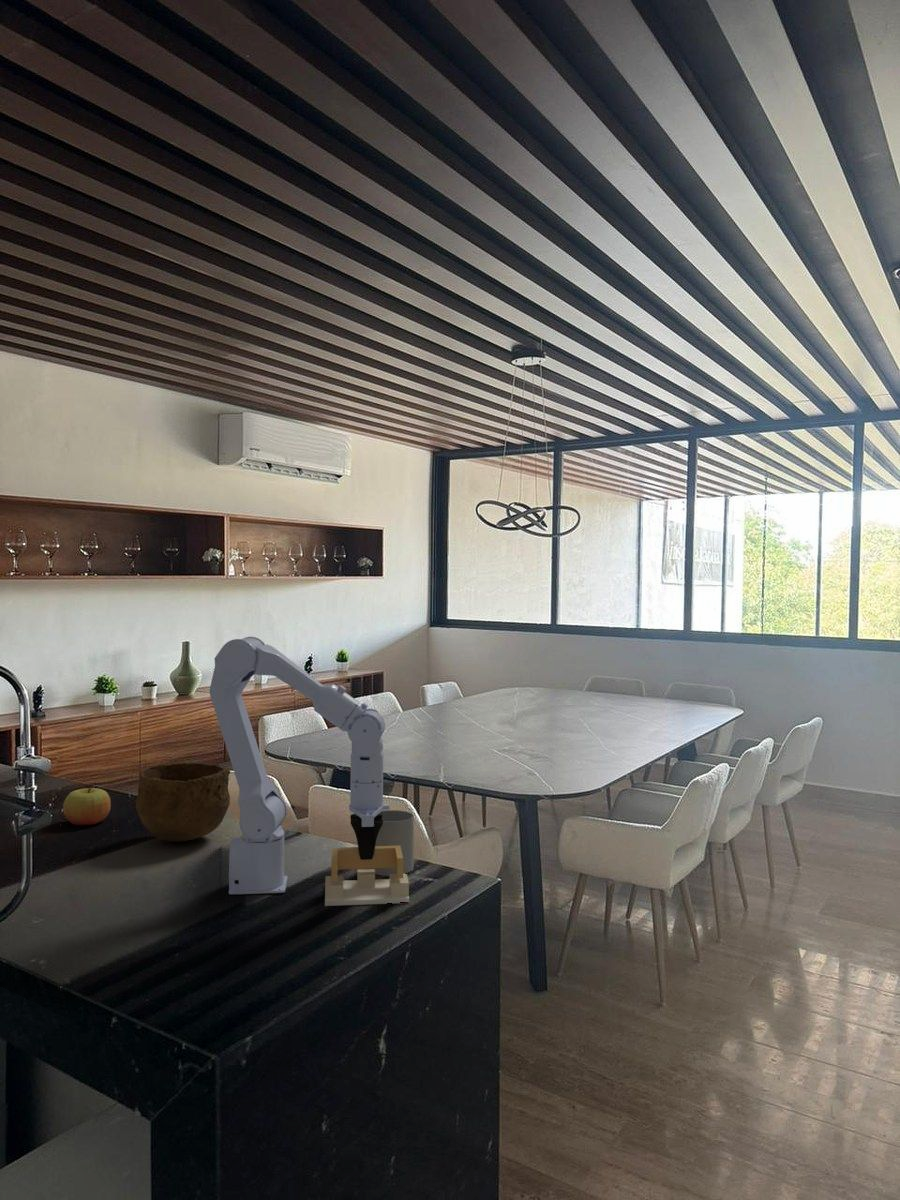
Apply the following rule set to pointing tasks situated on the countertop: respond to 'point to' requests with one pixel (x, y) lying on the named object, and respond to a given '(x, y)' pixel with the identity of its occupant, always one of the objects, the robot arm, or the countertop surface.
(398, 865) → the tan u-shaped clamp
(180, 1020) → the countertop surface
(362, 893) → the display stand
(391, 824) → the cup
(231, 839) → the robot arm
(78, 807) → the apple
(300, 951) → the countertop surface
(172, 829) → the bowl
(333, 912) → the countertop surface
